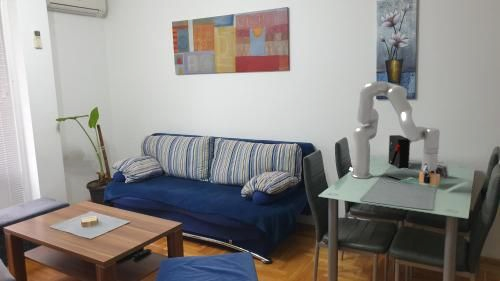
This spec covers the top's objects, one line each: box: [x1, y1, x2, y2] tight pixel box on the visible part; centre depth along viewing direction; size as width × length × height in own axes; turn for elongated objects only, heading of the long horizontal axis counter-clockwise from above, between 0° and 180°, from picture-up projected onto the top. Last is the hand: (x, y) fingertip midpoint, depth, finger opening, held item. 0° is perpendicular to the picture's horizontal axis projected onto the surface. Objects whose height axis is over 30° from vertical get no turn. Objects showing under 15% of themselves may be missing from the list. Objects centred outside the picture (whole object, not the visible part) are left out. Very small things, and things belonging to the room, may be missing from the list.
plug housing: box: [418, 171, 441, 185], centre depth 219 cm, size 10×4×6 cm, turn 40°
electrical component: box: [388, 134, 413, 170], centre depth 270 cm, size 18×10×20 cm, turn 179°
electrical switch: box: [436, 162, 450, 178], centre depth 237 cm, size 9×5×9 cm, turn 20°
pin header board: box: [398, 176, 448, 189], centre depth 225 cm, size 22×14×6 cm, turn 40°
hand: (429, 181), depth 220 cm, fingers open, 5 cm apart
